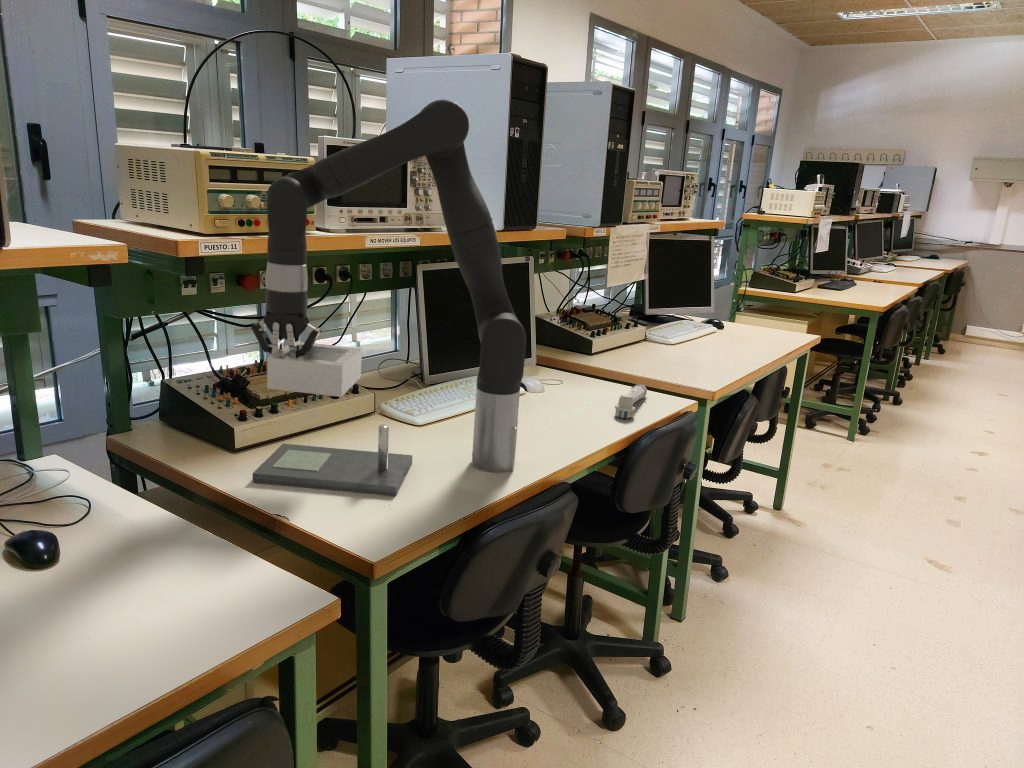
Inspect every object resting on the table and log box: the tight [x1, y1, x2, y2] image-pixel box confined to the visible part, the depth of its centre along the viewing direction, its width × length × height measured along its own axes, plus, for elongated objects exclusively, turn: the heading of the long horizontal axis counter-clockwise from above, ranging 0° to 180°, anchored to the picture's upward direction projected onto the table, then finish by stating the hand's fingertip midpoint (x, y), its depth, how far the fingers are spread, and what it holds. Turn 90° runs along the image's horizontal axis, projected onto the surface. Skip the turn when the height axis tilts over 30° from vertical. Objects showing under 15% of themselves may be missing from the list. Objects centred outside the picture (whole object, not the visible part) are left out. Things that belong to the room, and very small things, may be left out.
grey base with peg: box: [252, 424, 413, 497], centre depth 144 cm, size 28×16×11 cm, turn 87°
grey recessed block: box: [266, 341, 363, 398], centre depth 139 cm, size 14×14×6 cm
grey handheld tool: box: [614, 384, 648, 419], centre depth 202 cm, size 5×7×25 cm
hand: (285, 374), depth 140 cm, fingers closed on grey recessed block
